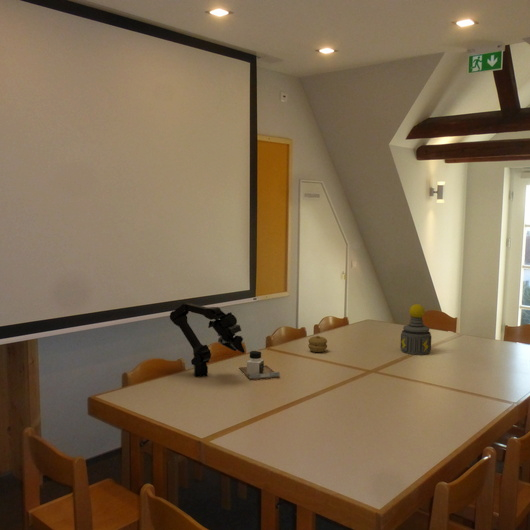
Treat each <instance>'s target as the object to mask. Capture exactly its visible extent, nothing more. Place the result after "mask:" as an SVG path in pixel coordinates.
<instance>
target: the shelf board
mask: <svg viewBox="0 0 530 530" xmlns="http://www.w3.org/2000/svg"><path fill="white" fill-rule="evenodd" d="M239 369H240V370H241V371H242V372H243V373H244V374H245V375H246V376H245V375H244V374H243V373H242V372H241V371H240V370H239ZM238 370H239V371H240V372H241V373H242V374H243V375H244V376H245V377H246V378H247V379H248V380H249V381H250V380H254V381H261V380H260V379H265V380H272V379H271V378H277V379H281V375H280V376H275V377H264V378H252V379H250V378H249V375H247V366H243V367H242V366H241V367H240V366H239V367H238ZM270 372H275V370H273V369H271V367H269V366H268V365H267V364H266V365H265V364H264V372H263V373H270Z"/></svg>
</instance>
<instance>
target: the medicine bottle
mask: <svg viewBox="0 0 530 530" xmlns="http://www.w3.org/2000/svg"><path fill="white" fill-rule="evenodd" d="M264 361H265V360H264V359H262V351H260V350H251V351H250V352H249V360H247V361H246V367H247V375H249V374H258V373H263V372H264V366H265V362H264Z"/></svg>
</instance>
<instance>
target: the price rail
mask: <svg viewBox="0 0 530 530" xmlns="http://www.w3.org/2000/svg"><path fill="white" fill-rule="evenodd" d="M275 376H280V377H281V375H280V371H274V372H270V373H258V374H249V378H250V379H252V378H264V377H275Z"/></svg>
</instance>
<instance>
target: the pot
mask: <svg viewBox="0 0 530 530" xmlns="http://www.w3.org/2000/svg"><path fill="white" fill-rule="evenodd" d="M327 343H328V340H327V338H326V337H324V336H320V335H316V336H311V337H310V338H309V339H308V344H307V345H308V346H307V347H308V349H309V350H310V351H311V352H312V353H313V352H314V353H323V352H325V351H326V350H327V348H328V344H327Z"/></svg>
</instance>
